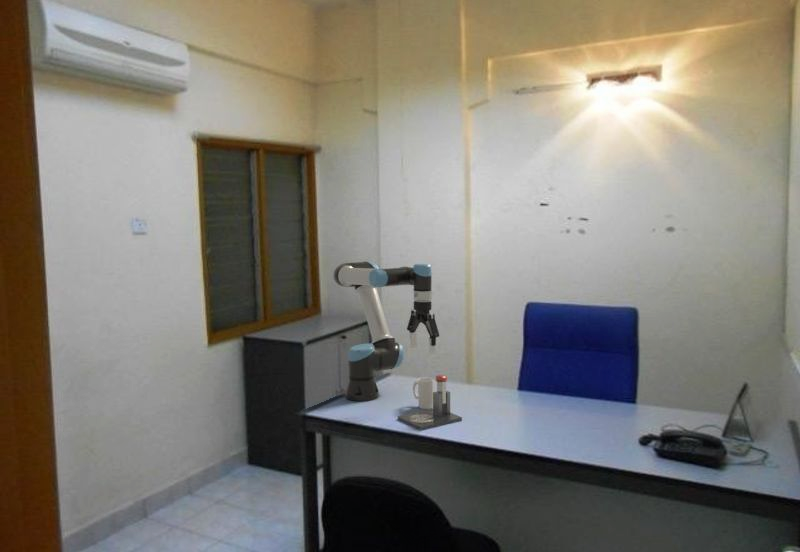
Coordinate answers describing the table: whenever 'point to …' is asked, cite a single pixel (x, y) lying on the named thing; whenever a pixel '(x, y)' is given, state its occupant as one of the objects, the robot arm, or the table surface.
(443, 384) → the red-capped tube
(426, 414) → the dark grey holder stand
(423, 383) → the mug
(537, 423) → the table surface
